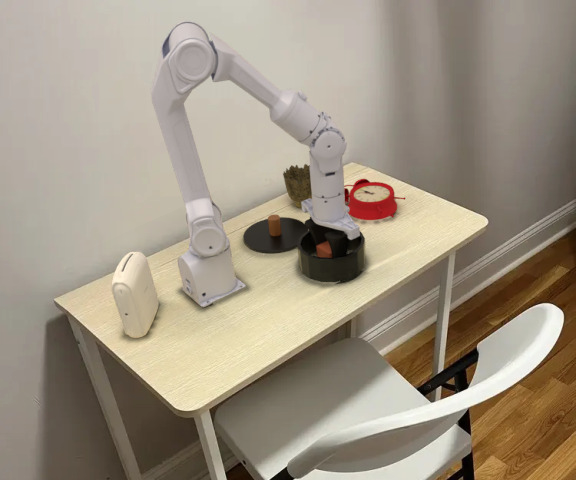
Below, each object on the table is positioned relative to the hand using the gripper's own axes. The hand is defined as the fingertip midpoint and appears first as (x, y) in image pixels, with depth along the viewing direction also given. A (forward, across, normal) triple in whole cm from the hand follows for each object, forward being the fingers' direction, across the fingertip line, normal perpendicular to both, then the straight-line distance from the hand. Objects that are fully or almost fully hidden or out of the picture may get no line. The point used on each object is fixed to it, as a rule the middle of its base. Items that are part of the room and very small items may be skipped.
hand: (332, 258), depth 127 cm
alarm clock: (+2, +13, -19) cm, 23 cm away
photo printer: (+2, +9, +35) cm, 37 cm away
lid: (+1, +16, +2) cm, 16 cm away
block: (+1, 0, 0) cm, 1 cm away
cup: (+2, +23, -10) cm, 25 cm away
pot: (+2, 0, 0) cm, 2 cm away
